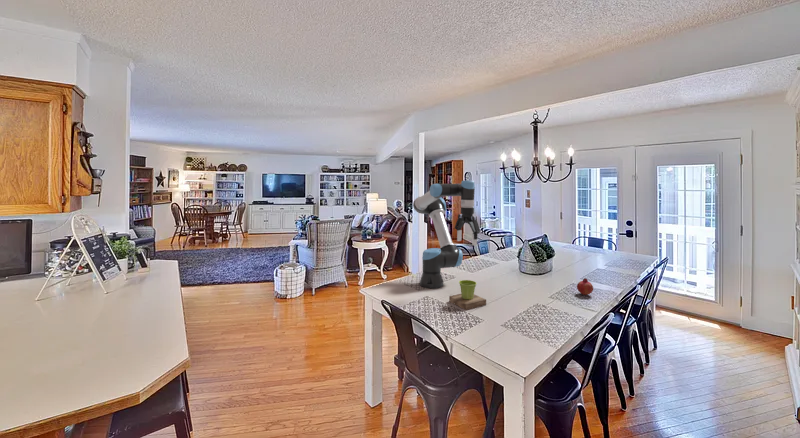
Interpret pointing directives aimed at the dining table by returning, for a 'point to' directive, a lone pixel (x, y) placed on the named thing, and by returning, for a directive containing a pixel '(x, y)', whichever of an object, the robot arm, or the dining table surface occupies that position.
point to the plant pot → (467, 288)
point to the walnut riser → (467, 301)
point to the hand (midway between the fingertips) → (466, 242)
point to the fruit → (585, 287)
